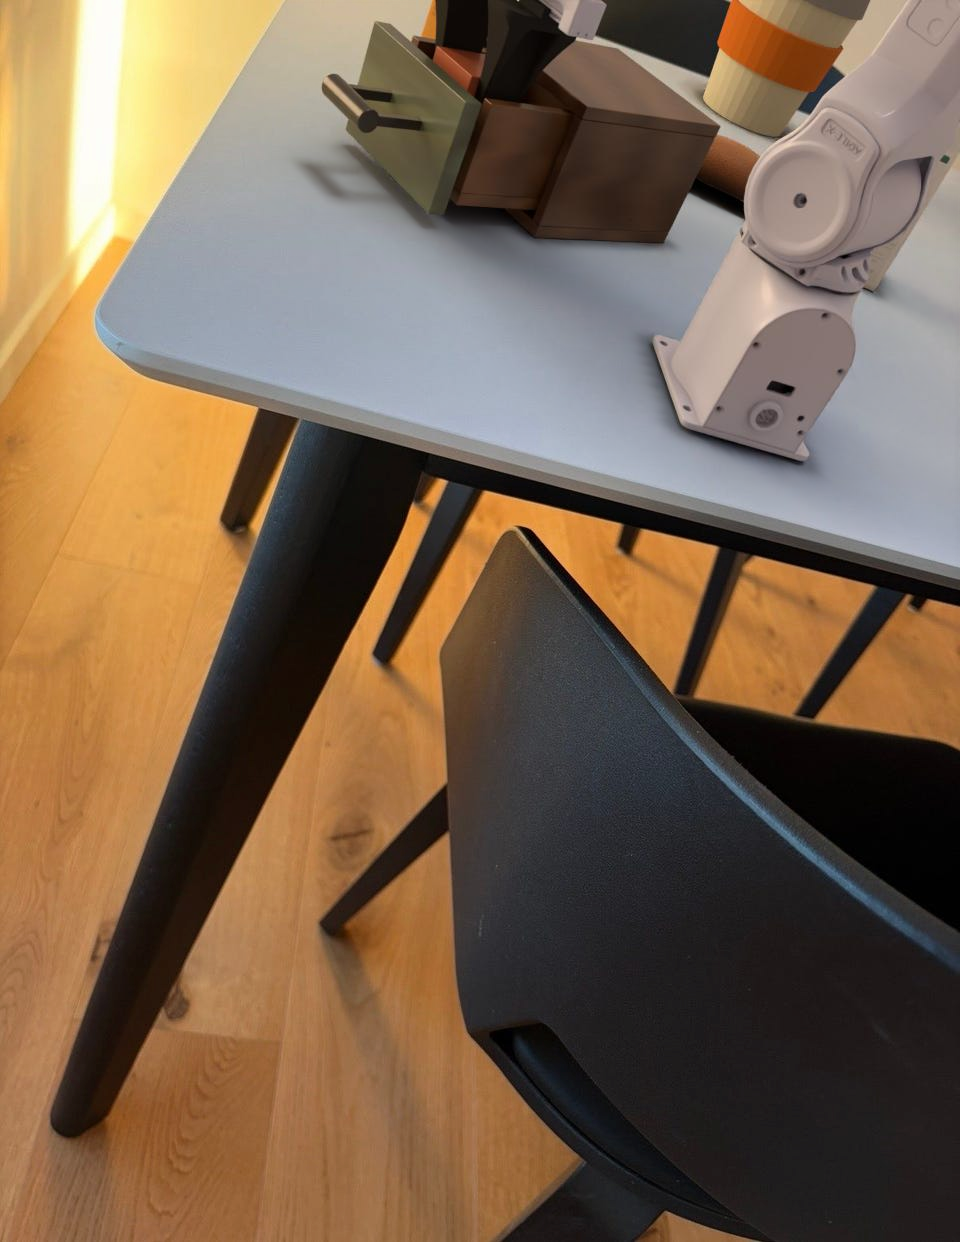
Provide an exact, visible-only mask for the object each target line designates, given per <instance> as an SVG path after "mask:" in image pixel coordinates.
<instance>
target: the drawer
mask: <svg viewBox="0 0 960 1242" xmlns="http://www.w3.org/2000/svg"><path fill="white" fill-rule="evenodd" d="M435 40H436V39H431V38H426V37H421V35H420V36H419V35H415V34H414V35H412V37H411V40H410V39H409V38H407V37H406V36H405V35H404V34H403V33H402V32H401V31H399V30H398V29H397V28H396V27H395V26H394V25H392V24H391V23H389V22H384V21H378V20H374V22H373V26H372V29H371V34H370V37H369V41H368V44H367V48H366V52H365V55H364V60H363V63H362V67H361V71H360V75H359V79H358V81H357V84H353V83H348V82H347V81H346V80H344V78H343V77H342V76H340V75H339V74H337V73H330V74H328V75H327V76H325V77H324V79H323V80H322V83H321V92H322V94H323V95H324V96H325V98H326V99H328V100H329V101H330V103H332V104H333V105H334V106H335V108H336V109H337V110H338V111H340V112H341V114H342V115H344V116H345V117H346V119H348V120H347V123H346V128H345V132H347V134H349V135H350V137H352V139H354V140H355V141H356V142H357V143H358V144H359V146H360V147H362V149H363V150H365V151H366V152H367V153H368V155H370V157H372V159H374V161H376V163H378V164H379V166H380V167H381V168H383V170H384V171H385V172H386V173H387V174H388V175H389V176H390V177H391V178H392V179H393V180H395V182H396V183H397V184H398V185H399V186H400V187H401V188H402V189H403V190H404V191H405V192H406V193H407V194H408V195H409V196H410V197H411V198H412V199H413V201H415V202H416V203H417V204H418V205H419V206H420V207H421V208H422V209H423V210H424V212H426V213H427V214H428V215H441V216H442V215H445V213H446V210H447V207H448V204H449V201H450V200H451V201H452V202H453V203H454V204H455V205H456V206H463V207H464V206H466V207H478V208H479V207H480V208H481V207H482V208H495V209H497V208H498V209H504V208H511V209H526V210H537V208H538V205H539V203H540V200H541V198H542V195H543V193H544V190H545V188H546V185H547V183H548V180H549V178H550V175H551V173H552V170H553V168H554V165H555V163H556V160H557V158H558V155H559V153H560V150H561V148H562V145H563V143H564V140H565V138H566V135H567V133H568V130H569V128H570V125H571V123H572V120H573V118H574V115H575V113H574V112H573V111H571V110H570V109H569V108H568V107H567V106H565V105H564V104H563V103H562V102H561V101H559V100H558V99H557V98H556V97H555V96H553V95H552V94H551V93H550V92H549V91H547V90H546V89H545V88H544V87H542V86H541V85H540V84H539V83H538V82H536V81H535V80H534V81H533V83H532V84H531V85H530V86H529V88H528V89H527V91H526V92H525V93H524V95H523V96H522V98H521V99H520V101H519V102H518V103H516V102H509V101H502V100H495V99H488V98H485V99H484V102H483V105H482V104H481V103H480V102H479V101H478V100H477V99H475V98H474V97H473V96H472V95H471V94H470V93H469V92H467V91H466V90H465V89H464V88H463V87H462V86H461V85H460V84H458V83H457V82H456V81H455V80H454V79H453V78H452V77H450V76H449V75H448V74H447V73H446V72H445V71H444V70H442V69H441V68H440V67H439V66H438V65H437V64H436V63H435V62H433V57H434V54H435ZM481 54H486V48H483V49H482V52H481ZM481 105H482V108H481ZM480 108H481V111H480ZM479 111H480V114H479ZM478 114H479V116H478ZM477 117H478V119H477ZM476 120H477V122H476ZM475 123H476V125H475ZM474 126H475V128H474ZM473 128H474V131H473ZM472 131H473V134H472ZM471 134H472V137H471ZM470 137H471V140H470ZM469 140H470V143H469ZM468 143H469V144H468Z"/></svg>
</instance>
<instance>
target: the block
mask: <svg viewBox="0 0 960 1242" xmlns="http://www.w3.org/2000/svg"><path fill="white" fill-rule="evenodd" d="M484 59H485V54H481V53H475V52H470V51H464V50H458V49H452V48H446V47H441V46H437V48H436V51H435V54H434V57H433V62H435V63H436V64H437V65H438V66H439V67H440V68H441V69H442V70H444V71H445V72H446V73H447V74H448V75H449V76H450V77H452V78H453V79H454V80H455V81H456V82H457V83H458V84H460V85H461V86H462V87H463V88H464V89H465V90H466V91H467V92H469V93H470V94H471V95H472V96H473V97H474V98H475V94H476V90H477V87H478V83H479V80H480V76H481V73H482V69H483V65H484ZM474 128H475V126H474ZM474 128H473V131H474ZM473 131H472V134H473ZM472 134H471V137H472ZM471 137H470V140H471ZM470 140H469V143H470ZM469 143H468V144H469Z"/></svg>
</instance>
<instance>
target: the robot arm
mask: <svg viewBox="0 0 960 1242" xmlns="http://www.w3.org/2000/svg"><path fill="white" fill-rule="evenodd" d="M435 4H436V40H435V51H436V48H437V46H441V47H446V48H452V49H458V50H464V51H470V52H475V53H481V52H482V49H483V47H484V44H485V42H486V40H487V47H486V54H485V59H484V65H483V69H482V73H481V76H480V80H479V83H478V87H477V90H476V94H475V99H477V100H478V101H479V102H480V103H481V104H482V105H483V102H484V99H485V98H488V99H495V100H502V101H509V102H516V103H518V102H519V101H520V99H521V98H522V96H523V95H524V93H525V92H526V91H527V89H528V88H529V86H530V85H531V84H532V83H533V81H534V80H535V79H536V78H537V76H538V75H539V74H540V73H541V72H542V71H543V70H544V69H545V67H546V66H547V65H548V64H549V63H550V62H551V61H552V60H553V59H555V58H556V57H557V56H558V55H559V54H560V53H561V52H562V51H563V50H565V49H566V48H567V47H568V46H569V45H571V44H572V43H573V42H575V40H577V38H579V39H585V40H589V41H594V39H595V36H596V33H597V31H598V28H599V26H600V23H601V21H602V19H603V16H604V13H605V10H606V8H607V4H606V3H605V2H604V1H603V0H435ZM487 37H488V39H487ZM482 105H481V108H482ZM481 108H480V111H481ZM480 111H479V114H480ZM479 114H478V116H479ZM477 119H478V117H477ZM959 120H960V0H907V1H905V3H904V4H903V6H902V8H901V9H900V11H899V12H898V14H897V15H896V17H895V18H894V20H893V21H892V22H891V24H890V25H889V27H888V28H887V30H886V31H885V33H884V35H882V37H881V38H880V40H879V42H877V44H876V46H875V47H874V48H873V50H872V52H871V53H870V55H868V56H867V57H866V58H865V59H864V60H863V61H862V62H861V63H860V64H858V65H857V66H856V67H854V68H853V69H852V70H851V71H850V72H848V74H846V75H845V76H844V77H843V78H841V79H840V80H839V81H838V82H837V83H836V84H834V86H832V87H831V88H830V89H829V90H827V92H826V93H824V94H823V96H822V97H821V98H820V100H819V101H818V103H817V104H816V106H815V107H814V109H813V110H812V112H811V113H810V114H809V115H808V117H807V118H806V119H805V120H804V121H803V122H802V124H800V125H799V126H798V127H797V128H796V129H794V130H793V131H791V132H790V133H788V134H786V135H784V136H783V137H781V138H779V139H778V140H776V141H775V142H773V143H772V144H771V145H770V146H768V148H766V149H765V150H764V152H763V153H762V154H761V155H759V156H760V158H759V159H758V161H757V162H756V164H755V165H754V167H753V169H752V171H751V174H750V176H749V178H748V182H747V185H746V190H745V196H744V202H743V211H744V218H745V220H744V221H743V223H742V226H741V227H740V229H739V231H738V233H737V234H736V237H735V238H734V240H733V242H732V244H731V246H730V248H729V249H728V251H727V254H726V255H725V256H724V259H723V260H722V263H721V264H720V267H719V268H718V270H717V272H716V274H715V276H714V278H713V279H712V282H711V283H710V285H709V287H708V288H707V291H706V293H705V295H704V297H703V299H701V300H702V301H701V302H700V304H699V306H698V308H697V310H696V312H695V313H694V315H693V317H692V319H691V321H690V323H689V324H688V327H687V328H686V331H685V332H684V333H683V336H682V338H681V340H677V339H674V338H671V337H668V336H664V335H661V334H655V335H654V336H653V338H652V340H651V341H652V346H653V348H654V351H655V354H656V358H657V359H658V362H659V365H660V368H661V371H662V374H663V377H664V379H665V382H666V385H667V388H668V391H669V394H670V397H671V400H672V403H673V406H674V408H675V412H676V414H677V418H678V421H679V423H680V425H681V426H682V427H684V428H685V429H688V430H690V431H694V432H697V433H700V434H703V435H704V434H705V435H708V436H712V437H714V438H718V439H723V440H725V441H729V442H733V443H736V444H739V445H742V446H743V445H744V446H746V447H750V448H754V449H756V450H761V451H764V452H767V453H772V454H775V455H777V456H781V457H785V458H789V459H793V460H796V461H799V462H806V461H807V460H808V458H810V452H809V449H808V447H807V446H806V444H805V442H804V440H805V438H806V437H807V436H808V434H809V432H810V431H811V429H812V428H813V427H814V425H815V424H816V422H817V420H818V419H819V417H820V416H821V414H822V413H823V411H824V410H825V408H826V407H827V405H828V404H829V402H830V401H831V399H832V398H833V396H834V395H835V393H836V391H837V390H838V389H839V387H840V385H841V384H842V382H843V381H844V379H845V378H846V376H847V375H848V373H849V372H850V370H851V368H852V365H853V362H854V361H855V355H856V349H857V342H856V341H857V340H856V334H855V330H854V326H853V312H854V307H855V303H856V302H857V299H858V297H859V294H860V293H861V290H862V289H864V287H863V286H864V285H865V283H866V281H867V280H868V278H869V276H868V273H869V271H870V264H871V258H872V257H871V253H872V252H873V249H874V248H878V247H881V246H884V245H886V244H889V243H891V242H893V241H894V240H896V239H897V238H899V237H900V236H902V235H903V234H904V233H905V232H906V231H907V230H908V229H909V228H910V227H911V225H912V224H913V223H914V222H915V220H916V219H917V217H918V215H919V213H920V212H921V209H922V207H923V205H924V202H925V198H926V194H927V190H928V185H929V181H930V179H931V176H932V173H933V171H934V169H935V168H936V166H937V164H938V163H939V161H940V160H941V158H942V157H943V156H944V154H945V153H946V152H947V151H948V149H949V148H950V147H951V145H952V144H953V142H954V139H955V136H956V132H957V128H958V124H959ZM476 122H477V120H476ZM475 125H476V123H475Z"/></svg>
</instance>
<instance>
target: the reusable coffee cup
mask: <svg viewBox="0 0 960 1242" xmlns="http://www.w3.org/2000/svg"><path fill="white" fill-rule="evenodd" d="M870 3H871V0H730V3H729V6H728V9H727V12H726V16H725V18H724V21H723V24H722V26H721V27H722V28H721V30H720V33H719V36H718V39H717V42H716V43H717V46H718V52H717V55H716V57H715V61H714V64H713V66H712V70H711V72H710V75H709V78H708V81H707V83H706V86H705V89H704V93H703V96H702V100H703V101H704V103H705V104H706V105H707V106H708V108H710V109H711V110H712V111H714V112H715V113H717V114H718V115H720V116H721V117H723V118H724V119H726V120H727V121H729V122H731V123H733V124H735V125H737V126H739V127H741V128H743V129H746V130H749V131H751V132H753V133H756V134H759V135H761V136H762V135H764V136H766V137H773V138H774V137H775V138H776V137H779V136H781V135H782V133H783V131H784V130H785V129H786V127H787V125H788V124H789V123H790V121H791V120H792V118H793V117H794V115H795V114H796V112H797V111H798V110H799V108H800V107H801V105H802V103H803V102H804V101H805V99H806V98H807V96H808V95H809V93H813V92H816V90H817V88H818V87H819V86H820V84H821V83H822V81H823V80H824V79H825V77H826V75H827V74H828V73H829V71H830V69H831V68H832V66H833V65H834V64H835V62H836V61H837V59H838V58H839V57H840V55H841V53H842V52H843V51H844V46H843V45H842V44H843V43H844V41H845V40H846V38H847V37H848V35H849V34H850V32H851V31H852V30H853V28H854V26H855V25H856V24H857V22H858V21H863V19H864V17H865V15H866V12H867V10H868V7H869V5H870Z"/></svg>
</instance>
